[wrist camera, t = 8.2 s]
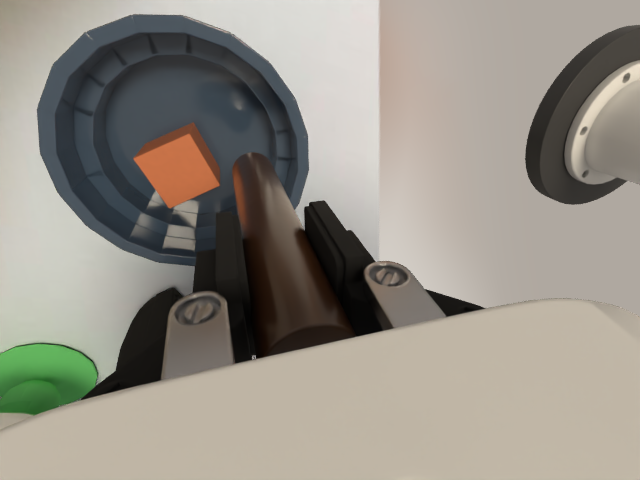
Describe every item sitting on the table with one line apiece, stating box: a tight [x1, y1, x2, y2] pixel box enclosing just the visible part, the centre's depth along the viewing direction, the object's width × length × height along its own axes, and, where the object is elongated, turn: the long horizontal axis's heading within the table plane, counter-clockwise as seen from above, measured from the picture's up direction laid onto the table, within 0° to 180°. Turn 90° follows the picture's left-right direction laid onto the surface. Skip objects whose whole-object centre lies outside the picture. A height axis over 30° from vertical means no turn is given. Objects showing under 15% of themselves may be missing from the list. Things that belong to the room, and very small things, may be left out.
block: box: [133, 123, 220, 208], centre depth 24 cm, size 4×4×4 cm
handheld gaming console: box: [116, 288, 183, 370], centre depth 26 cm, size 12×4×20 cm, turn 18°
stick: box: [232, 152, 357, 359], centre depth 13 cm, size 2×2×14 cm
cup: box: [0, 344, 98, 429], centre depth 26 cm, size 14×14×16 cm
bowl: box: [37, 14, 309, 266], centre depth 23 cm, size 16×16×6 cm
